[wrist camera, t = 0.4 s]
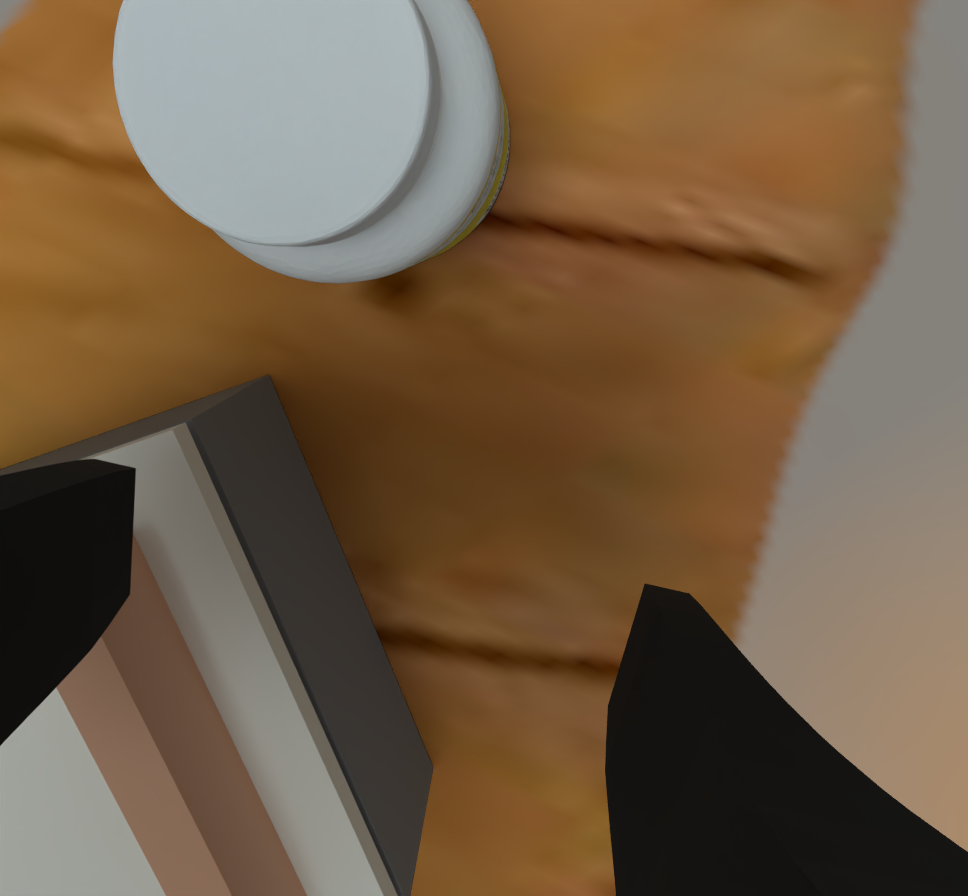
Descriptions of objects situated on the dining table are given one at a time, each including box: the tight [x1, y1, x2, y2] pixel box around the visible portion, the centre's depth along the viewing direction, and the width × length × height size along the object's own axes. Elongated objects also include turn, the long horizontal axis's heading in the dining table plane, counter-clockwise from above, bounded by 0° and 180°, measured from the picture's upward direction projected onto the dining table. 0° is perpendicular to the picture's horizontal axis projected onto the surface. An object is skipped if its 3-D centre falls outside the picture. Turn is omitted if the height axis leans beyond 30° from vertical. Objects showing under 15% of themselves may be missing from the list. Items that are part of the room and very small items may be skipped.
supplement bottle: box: [113, 0, 510, 283], centre depth 15 cm, size 5×5×10 cm
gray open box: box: [0, 375, 433, 896], centre depth 21 cm, size 18×12×5 cm, turn 109°
